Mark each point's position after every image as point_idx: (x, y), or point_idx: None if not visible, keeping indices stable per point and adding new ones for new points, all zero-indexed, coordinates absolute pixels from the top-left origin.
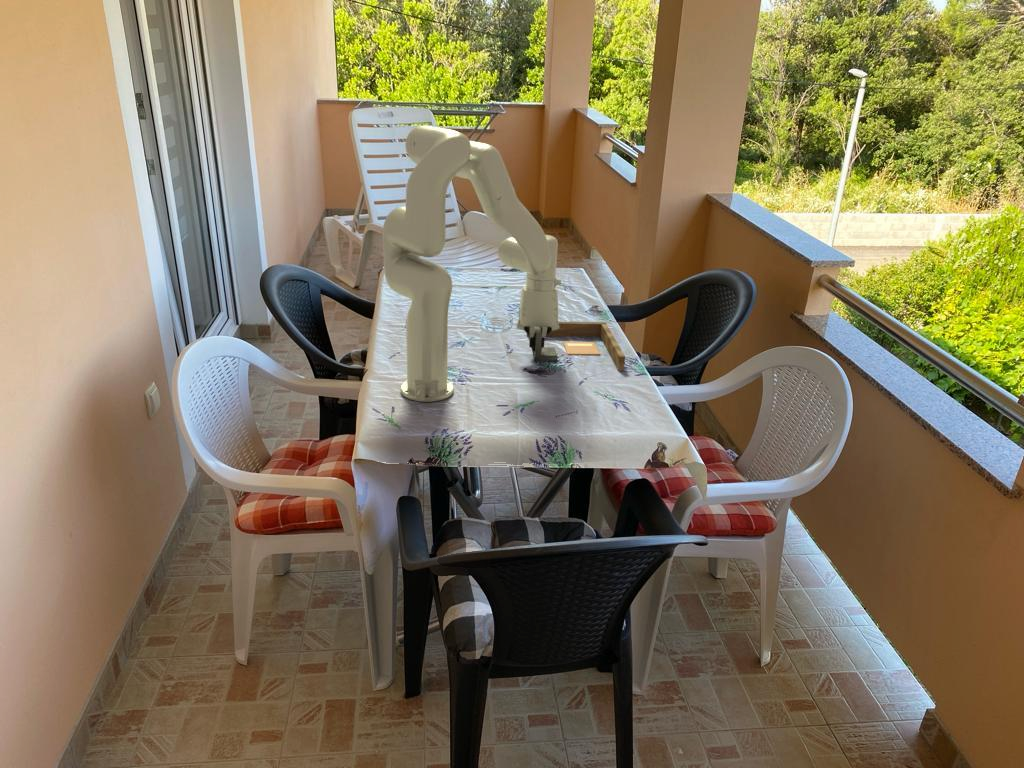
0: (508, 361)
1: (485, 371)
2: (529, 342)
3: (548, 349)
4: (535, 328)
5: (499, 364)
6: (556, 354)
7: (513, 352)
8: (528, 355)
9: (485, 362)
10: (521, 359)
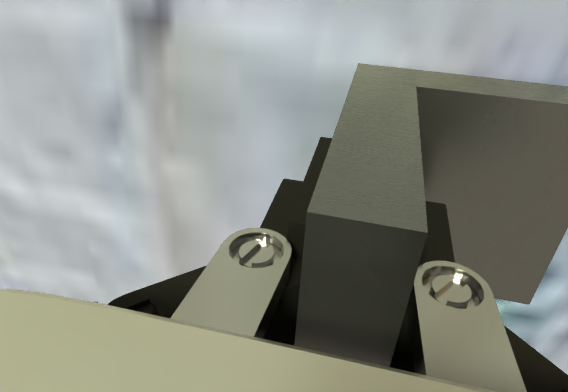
0: (153, 195)
1: (50, 289)
2: (277, 196)
3: (511, 162)
4: (314, 306)
5: (103, 227)
6: (533, 282)
7: (185, 22)
8: (311, 106)
9: (19, 188)
10: (243, 176)
